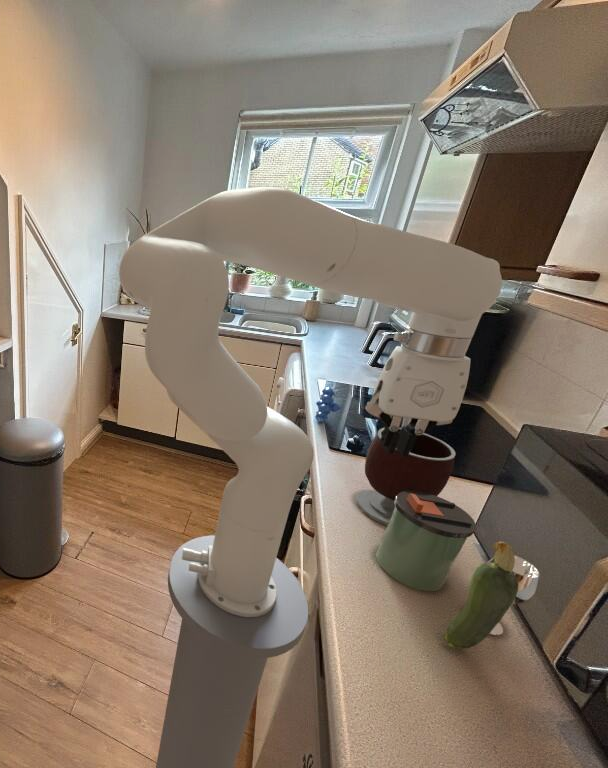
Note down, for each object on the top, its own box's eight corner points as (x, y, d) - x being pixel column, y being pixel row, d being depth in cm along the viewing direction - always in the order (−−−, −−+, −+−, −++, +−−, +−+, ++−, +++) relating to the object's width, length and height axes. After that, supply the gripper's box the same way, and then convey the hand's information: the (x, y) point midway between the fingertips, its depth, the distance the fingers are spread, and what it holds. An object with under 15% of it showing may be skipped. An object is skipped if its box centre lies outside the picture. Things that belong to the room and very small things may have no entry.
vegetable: (476, 651, 59) (540, 546, 52) (474, 672, 56) (541, 565, 49) (439, 630, 62) (493, 528, 54) (435, 649, 59) (492, 545, 52)
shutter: (415, 513, 68) (419, 505, 67) (406, 499, 71) (409, 492, 70) (443, 517, 67) (447, 510, 66) (432, 504, 70) (435, 496, 69)
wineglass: (497, 645, 60) (533, 586, 56) (452, 612, 65) (483, 556, 61) (516, 631, 63) (553, 573, 58) (472, 600, 67) (503, 545, 63)
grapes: (334, 433, 120) (345, 396, 115) (309, 427, 123) (319, 391, 118) (336, 418, 129) (346, 384, 125) (312, 413, 132) (322, 379, 128)
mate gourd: (439, 540, 80) (480, 454, 73) (360, 522, 84) (391, 439, 77) (411, 494, 94) (443, 417, 86) (344, 480, 98) (369, 406, 90)
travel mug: (386, 584, 70) (413, 523, 65) (364, 540, 79) (386, 483, 74) (459, 600, 67) (493, 537, 62) (427, 552, 77) (454, 494, 72)
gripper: (385, 344, 58) (348, 454, 65) (514, 357, 54) (461, 472, 62) (366, 331, 65) (335, 432, 72) (480, 342, 61) (436, 447, 68)
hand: (393, 450), depth 67 cm, fingers closed
